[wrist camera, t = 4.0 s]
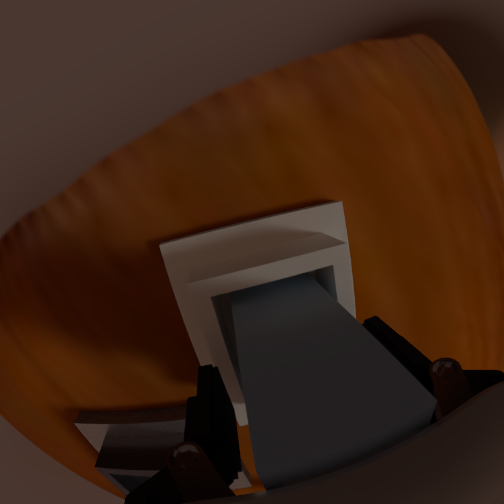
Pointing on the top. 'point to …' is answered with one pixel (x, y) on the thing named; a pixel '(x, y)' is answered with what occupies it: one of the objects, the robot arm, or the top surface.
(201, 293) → the box
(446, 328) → the top surface
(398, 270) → the top surface
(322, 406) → the plug
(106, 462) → the port
